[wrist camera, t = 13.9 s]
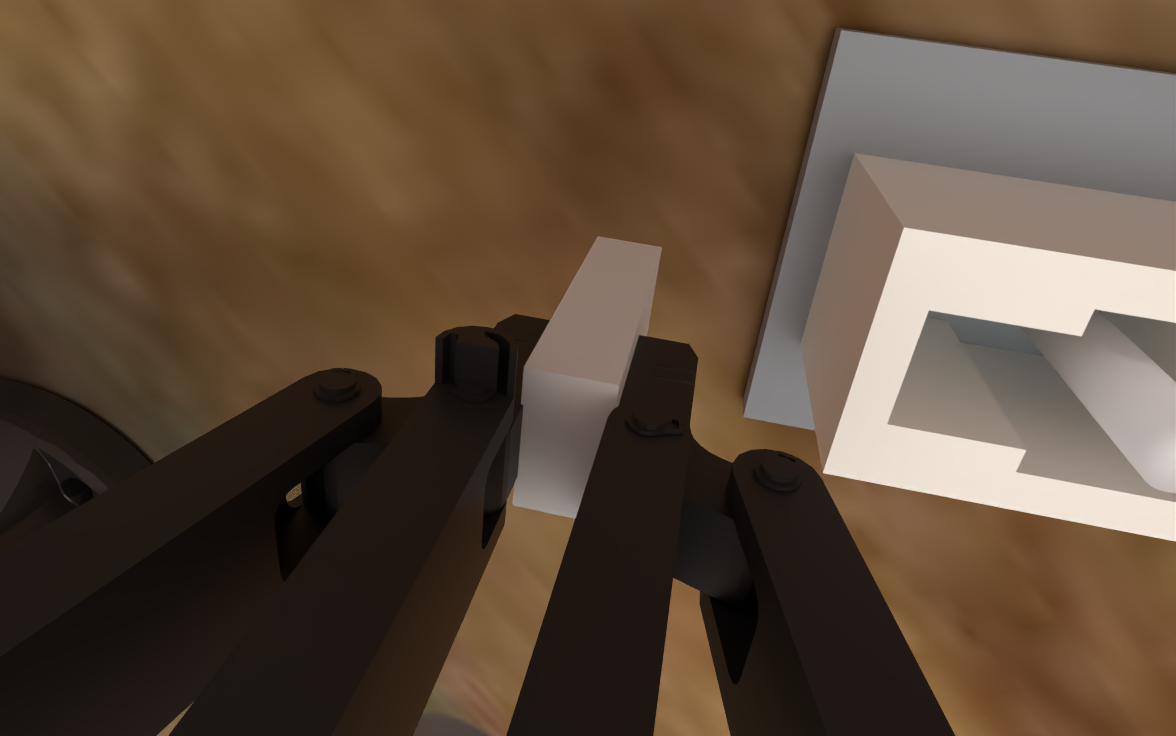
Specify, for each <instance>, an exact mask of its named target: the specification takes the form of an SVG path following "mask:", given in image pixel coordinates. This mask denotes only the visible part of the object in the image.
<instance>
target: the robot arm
mask: <svg viewBox="0 0 1176 736" xmlns="http://www.w3.org/2000/svg"><path fill="white" fill-rule="evenodd" d="M661 250H662V247H658V246H652V245H646V244H640V243H635V242H629V241H623V240H617V239H611V238H605V237H599V236H598V237H597V238H596V240H595V242H594V244H593V246H592V247H591V249H590V251H589V253H588V254H587V256H586V258H585V260H584V261H583V263H582V265H581V267H580V269H579V270H578V272H577V274H576V276H575V277H574V279H573V281H572V283H571V284H570V286H569V288H568V290H567V291H566V293H565V295H564V297H563V299H562V300H561V302H560V304H559V306H558V307H557V309H556V311H555V313H554V314H553V316H552V318H551V320H545V319H540V318H534V317H529V316H523V315H518V314H515V315H512V316H510V317H508V318H506V319H504V320H502V321H500V322H498V323H497V325H496V326H495V328H494V329H493V328H489V327H479V326H466V327H456V328H453V329H450V330H446V331H444V332H442V333H441V334H440V335H438V336H437V337H436V348H435V383H434V385H433V386H432V387H431V389H430V390H429V391H428V392H427V394H426V395H425V396H423V397H412V398H382V386H381V384H380V383H379V381H378V380H377V378H375V377H373V376H372V375H370V374H368V373H366V372H362V371H358V370H353V369H348V368H344V369H342V368H333V369H330V370H324V371H318V372H316V373H313V374H311V375H308V376H306V377H304V378H302V379H300V380H298V381H297V382H295V383H293V384H291V385H290V386H288V387H286V388H284V389H283V390H281V391H279V392H278V393H276V394H274V395H272V396H271V397H269V398H267V399H265V400H264V401H262V402H260V403H258V404H257V405H255V406H253V407H251V408H250V409H248V410H246V411H244V412H243V413H241V414H239V415H237V416H236V417H234V418H232V419H230V420H229V421H227V422H225V423H223V424H222V425H220V426H218V427H216V428H215V429H213V430H211V431H209V432H208V433H206V434H204V435H203V436H201V437H199V438H197V439H196V440H194V441H192V442H190V443H189V444H187V445H185V446H183V447H182V448H180V449H178V450H176V451H175V452H173V453H171V454H169V455H168V456H166V457H164V458H162V459H161V460H159V461H157V462H155V463H154V464H152V465H151V464H150V463H149V462H148V461H147V460H146V459H145V458H144V457H143V456H142V455H141V454H140V453H139V452H138V451H137V450H136V449H135V448H134V447H133V446H132V445H131V444H130V443H129V442H127V441H126V440H125V439H124V438H123V437H121V436H120V435H119V434H118V433H116V432H115V431H114V430H113V429H111V428H110V427H109V426H107V425H106V424H104V423H103V422H101V421H100V420H99V419H97V418H96V417H94V416H93V415H91V414H89V413H88V412H86V411H84V410H83V409H81V408H79V407H77V406H76V405H74V404H72V403H70V402H68V401H66V400H64V399H62V398H60V397H58V396H56V395H53V394H51V393H48V392H46V391H44V390H41V389H38V388H35V387H33V386H29V385H26V384H23V383H19V382H15V381H10V380H5V379H0V736H156V735H157V734H159V733H160V732H161V731H162V730H163V729H164V728H165V727H166V726H167V725H168V724H169V723H171V722H172V721H173V720H174V719H175V718H176V717H177V716H178V715H179V714H180V713H181V712H183V711H184V710H185V709H186V708H187V707H188V706H189V705H190V704H191V703H192V702H194V703H193V704H192V705H191V707H190V708H189V709H188V711H187V712H186V713H185V714H184V716H183V717H182V718H181V720H180V721H179V722H178V724H177V725H176V726H175V728H174V729H173V730H172V732H171V733H170V734H169V736H413V734H414V732H415V729H416V727H417V725H418V722H419V720H420V718H421V715H422V713H423V711H424V709H425V706H426V704H427V702H428V699H429V697H430V695H431V692H432V690H433V688H434V685H435V683H436V681H437V679H438V676H439V674H440V672H441V669H442V667H443V665H444V662H445V660H446V658H447V656H448V653H449V651H450V649H451V646H452V644H453V642H454V639H455V637H456V635H457V633H458V630H459V628H460V626H461V623H462V621H463V619H464V616H465V614H466V612H467V610H468V607H469V605H470V603H471V600H472V598H473V596H474V593H475V591H476V589H477V587H478V584H479V582H480V580H481V577H482V575H483V573H484V570H485V568H486V566H487V564H488V561H489V559H490V557H491V554H492V552H493V550H494V547H495V545H496V543H497V540H498V538H499V536H500V534H501V531H502V529H503V527H504V523H505V516H506V503H507V498H508V496H509V494H510V492H511V489H512V487H513V485H514V494H513V506H518V507H523V508H527V509H532V510H537V511H541V512H546V513H551V514H555V515H560V516H565V517H569V518H574V519H575V522H574V525H573V528H572V531H571V534H570V537H569V541H568V544H567V547H566V550H565V553H564V556H563V559H562V563H561V566H560V569H559V572H558V575H557V578H556V581H555V585H554V588H553V591H552V594H551V597H550V600H549V603H548V607H547V610H546V613H545V616H544V619H543V622H542V625H541V629H540V632H539V635H538V638H537V641H536V644H535V647H534V651H533V654H532V657H531V660H530V663H529V666H528V669H527V673H526V676H525V679H524V682H523V685H522V688H521V691H520V695H519V698H518V701H517V704H516V707H515V710H514V713H513V717H512V720H511V723H510V726H509V729H508V732H507V736H653V733H654V725H655V717H656V709H657V701H658V693H659V685H660V677H661V669H662V661H663V653H664V645H665V637H666V629H667V621H668V614H669V606H670V598H671V590H672V582H673V578H675V579H677V580H679V581H681V582H683V583H685V584H687V585H689V586H691V587H693V588H695V589H697V590H699V591H700V607H701V612H702V616H703V620H704V624H705V629H706V633H707V637H708V641H709V646H710V650H711V654H712V658H713V663H714V667H715V671H716V675H717V680H718V684H719V688H720V692H721V697H722V701H723V705H724V709H725V714H726V718H727V722H728V726H729V731H730V735H731V736H955V734H954V732H953V730H952V728H951V726H950V725H949V723H948V721H947V719H946V717H945V715H944V713H943V711H942V709H941V707H940V705H939V703H938V701H937V700H936V698H935V696H934V694H933V692H932V690H931V688H930V686H929V684H928V682H927V680H926V678H925V677H924V675H923V673H922V671H921V669H920V667H919V665H918V663H917V661H916V659H915V657H914V655H913V653H912V652H911V650H910V648H909V646H908V644H907V642H906V640H905V638H904V636H903V634H902V632H901V630H900V628H899V627H898V625H897V623H896V621H895V619H894V617H893V615H892V613H891V611H890V609H889V607H888V605H887V603H886V602H885V600H884V598H883V596H882V594H881V592H880V590H879V588H878V586H877V584H876V582H875V580H874V578H873V577H872V575H871V573H870V571H869V569H868V567H867V565H866V563H865V561H864V559H863V557H862V555H861V554H860V552H859V550H858V548H857V546H856V544H855V542H854V540H853V538H852V536H851V534H850V532H849V530H848V529H847V527H846V525H845V523H844V521H843V519H842V517H841V515H840V513H839V511H838V509H837V507H836V505H835V504H834V502H833V500H832V498H831V496H830V494H829V492H828V490H827V488H826V486H825V484H824V482H823V480H822V479H821V477H820V476H819V475H818V474H817V472H816V471H815V470H814V469H813V468H812V467H811V466H809V465H808V464H807V463H805V462H804V461H802V460H801V459H799V458H797V457H795V456H792V455H789V454H788V453H784V452H781V451H774V450H768V449H759V450H749V451H747V452H745V453H742V454H740V455H739V456H738V457H737V458H736V459H735V461H734V462H733V463H731V462H729V461H726V460H724V459H722V458H720V457H718V456H716V455H714V454H712V453H710V452H708V451H707V450H706V449H704V448H703V447H701V446H700V445H699V444H698V442H697V441H696V440H695V439H694V438H693V436H692V434H691V429H690V418H691V410H692V402H693V395H694V387H695V379H696V371H697V363H698V357H697V356H696V354H695V353H694V351H693V349H692V348H691V346H690V345H689V344H685V343H680V342H674V341H669V340H664V339H658V338H653V337H647V333H648V327H649V321H650V315H651V309H652V303H653V298H654V292H655V286H656V280H657V274H658V268H659V262H660V256H661ZM299 483H301V491H302V494H300V495H299V496H297V497H296V498H295V499H293V500H291V501H289V502H287V500H286V494H287V493H288V492H289V491H290V490H291V489H292V488H294V487H295V486H296V485H298V484H299Z"/></svg>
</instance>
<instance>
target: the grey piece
mask: <svg viewBox="0 0 1176 736" xmlns="http://www.w3.org/2000/svg"><path fill="white" fill-rule="evenodd" d="M854 153H858V154H865V155H871V156H878V157H884V158H891V159H898V160H904V161H911V162H917V163H924V164H931V165H937V166H944V167H950V168H957V169H963V170H970V171H977V172H983V173H990V174H996V175H1003V176H1010V177H1016V178H1023V179H1029V180H1036V181H1042V182H1049V183H1056V184H1062V185H1069V186H1075V187H1082V188H1089V189H1095V190H1102V191H1108V192H1115V193H1122V194H1128V195H1135V196H1141V197H1148V198H1154V199H1161V200H1168V201H1174V202H1176V73H1172V72H1164V71H1157V70H1149V69H1142V68H1135V67H1127V66H1120V65H1112V64H1105V63H1097V62H1090V61H1083V60H1075V59H1068V58H1060V57H1053V56H1045V55H1038V54H1031V53H1023V52H1016V51H1008V50H1001V49H993V48H986V47H979V46H971V45H964V44H956V43H949V42H941V41H934V40H926V39H919V38H912V37H904V36H897V35H889V34H882V33H874V32H867V31H860V30H852V29H845V28H837V27H836V29H835V33H834V37H833V41H832V45H831V49H830V53H829V57H828V61H827V65H826V69H825V73H824V77H823V81H822V85H821V89H820V93H819V97H818V101H817V105H816V109H815V113H814V117H813V121H812V125H811V129H810V133H809V137H808V141H807V145H806V149H805V153H804V157H803V161H802V165H801V169H800V173H799V177H798V181H797V185H796V189H795V193H794V197H793V201H792V205H791V209H790V213H789V217H788V221H787V225H786V229H785V233H784V237H783V241H782V245H781V249H780V253H779V257H778V261H777V265H776V269H775V273H774V277H773V281H772V285H771V289H770V293H769V297H768V301H767V305H766V309H765V313H764V317H763V321H762V325H761V329H760V333H759V337H758V341H757V345H756V349H755V353H754V357H753V361H752V365H751V369H750V373H749V377H748V381H747V385H746V389H745V393H744V397H743V417H746V418H751V419H756V420H762V421H767V422H772V423H778V424H783V425H788V426H794V427H799V428H804V429H810V430H815V426H814V420H813V414H812V409H811V403H810V397H809V391H808V386H807V380H806V374H805V368H804V363H803V357H802V351H801V346H800V343H801V340H802V336H803V333H804V329H805V326H806V322H807V318H808V315H809V311H810V308H811V304H812V301H813V297H814V294H815V290H816V287H817V283H818V280H819V276H820V273H821V269H822V266H823V262H824V258H825V255H826V251H827V248H828V244H829V241H830V237H831V234H832V230H833V227H834V223H835V220H836V216H837V213H838V209H839V205H840V202H841V198H842V195H843V191H844V188H845V184H846V181H847V177H848V174H849V170H850V167H851V163H852V160H853V156H854ZM927 317H928V318H934V319H940V320H945V321H948V323H949V324H950V326H951V328H952V329H953V331H954V332H955V334H956V336H957V337H958V339H959V341H960V342H963V343H969V344H975V345H980V346H986V347H992V348H998V349H1003V350H1009V351H1015V352H1021V353H1026V354H1032V355H1038V356H1044V357H1045V358H1046V359H1047V360H1048V362H1049V363H1050V364H1051V365H1052V367H1053V368H1054V369H1055V370H1056V372H1057V373H1058V374H1059V375H1060V377H1061V378H1062V379H1063V380H1064V381H1065V383H1066V384H1067V385H1068V386H1069V388H1070V389H1071V390H1072V391H1073V393H1074V394H1075V395H1076V396H1077V398H1078V399H1079V400H1080V401H1081V402H1082V404H1083V405H1084V406H1085V407H1086V409H1087V410H1088V411H1089V412H1090V414H1091V415H1092V416H1093V417H1094V419H1095V420H1096V421H1097V422H1098V424H1099V425H1100V426H1101V427H1102V428H1103V430H1104V431H1105V432H1106V433H1107V435H1108V436H1109V437H1110V438H1111V440H1112V441H1113V442H1114V443H1115V445H1116V446H1117V447H1118V448H1119V450H1120V451H1121V452H1122V453H1123V454H1124V456H1125V457H1126V458H1127V459H1128V461H1129V462H1130V463H1131V464H1132V466H1133V467H1134V468H1135V469H1136V471H1137V472H1138V473H1139V474H1140V475H1141V477H1142V478H1143V479H1144V480H1145V481H1146V482H1147V483H1148V484H1149V485H1150V486H1152V487H1154V488H1155V489H1158V490H1161V491H1164V492H1169V493H1176V382H1175V381H1174V380H1173V379H1172V378H1171V377H1170V376H1169V375H1168V374H1167V373H1165V372H1164V371H1163V370H1162V369H1161V368H1160V367H1159V366H1158V365H1157V364H1156V363H1155V362H1154V361H1152V360H1151V359H1150V358H1149V357H1148V356H1147V355H1146V354H1145V353H1144V352H1143V351H1142V350H1141V349H1140V348H1138V347H1137V346H1136V345H1135V344H1134V343H1133V342H1132V341H1131V340H1130V339H1129V338H1128V337H1127V336H1125V335H1124V334H1123V333H1122V332H1121V331H1120V330H1119V329H1118V328H1117V327H1116V326H1115V325H1114V324H1113V323H1111V322H1110V321H1109V320H1108V319H1107V318H1106V317H1105V316H1104V315H1103V314H1102V310H1096V309H1095V310H1094V312H1093V314H1092V316H1091V318H1090V320H1089V322H1088V324H1087V326H1086V329H1085V331H1084V333H1083V335H1082V336H1076V335H1071V334H1065V333H1059V332H1053V331H1047V330H1041V329H1035V328H1029V327H1024V326H1018V325H1012V324H1006V323H1000V322H994V321H988V320H983V319H977V318H971V317H965V316H959V315H953V314H947V313H941V312H936V311H930V310H929V312H928V314H927Z"/></svg>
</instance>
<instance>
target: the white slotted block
mask: <svg viewBox="0 0 1176 736" xmlns="http://www.w3.org/2000/svg"><path fill="white" fill-rule="evenodd" d="M1095 309H1096V310H1102V314H1103V315H1104V316H1105V317H1106V318H1107V319H1108V320H1109V321H1110V322H1111V323H1113V324H1114V325H1115V326H1116V327H1117V328H1118V329H1119V330H1120V331H1121V332H1122V333H1123V334H1124V335H1125V336H1127V337H1128V338H1129V339H1130V340H1131V341H1132V342H1133V343H1134V344H1135V345H1136V346H1137V347H1138V348H1140V349H1141V350H1142V351H1143V352H1144V353H1145V354H1146V355H1147V356H1148V357H1149V358H1150V359H1151V360H1152V361H1154V362H1155V363H1156V364H1157V365H1158V366H1159V367H1160V368H1161V369H1162V370H1163V371H1164V372H1165V373H1167V374H1168V375H1169V376H1170V377H1171V378H1172V379H1173V380H1174V381H1175V382H1176V202H1174V201H1168V200H1161V199H1154V198H1148V197H1141V196H1135V195H1128V194H1122V193H1115V192H1108V191H1102V190H1095V189H1089V188H1082V187H1075V186H1069V185H1062V184H1056V183H1049V182H1042V181H1036V180H1029V179H1023V178H1016V177H1010V176H1003V175H996V174H990V173H983V172H977V171H970V170H963V169H957V168H950V167H944V166H937V165H931V164H924V163H917V162H911V161H904V160H898V159H891V158H884V157H878V156H871V155H865V154H858V153H854V156H853V160H852V163H851V167H850V170H849V174H848V177H847V181H846V184H845V188H844V191H843V195H842V198H841V202H840V205H839V209H838V213H837V216H836V220H835V223H834V227H833V230H832V234H831V237H830V241H829V244H828V248H827V251H826V255H825V258H824V262H823V266H822V269H821V273H820V276H819V280H818V283H817V287H816V290H815V294H814V297H813V301H812V304H811V308H810V311H809V315H808V318H807V322H806V326H805V329H804V333H803V336H802V340H801V343H800V346H801V351H802V357H803V363H804V368H805V374H806V380H807V386H808V391H809V397H810V403H811V409H812V414H813V420H814V426H815V431H816V437H817V443H818V449H819V454H820V460H821V466H822V471H823V473H826V474H831V475H836V476H841V477H846V478H851V479H857V480H862V481H867V482H872V483H877V484H882V485H887V486H893V487H898V488H903V489H908V490H913V491H918V492H924V493H929V494H934V495H939V496H944V497H949V498H955V499H960V500H965V501H970V502H975V503H980V504H985V505H991V506H996V507H1001V508H1006V509H1011V510H1016V511H1022V512H1027V513H1032V514H1037V515H1042V516H1047V517H1053V518H1058V519H1063V520H1068V521H1073V522H1078V523H1083V524H1089V525H1094V526H1099V527H1104V528H1109V529H1114V530H1120V531H1125V532H1130V533H1135V534H1140V535H1145V536H1150V537H1156V538H1161V539H1166V540H1171V541H1176V493H1169V492H1164V491H1161V490H1158V489H1155V488H1154V487H1152V486H1150V485H1149V484H1148V483H1147V482H1146V481H1145V480H1144V479H1143V478H1142V477H1141V475H1140V474H1139V473H1138V472H1137V471H1136V469H1135V468H1134V467H1133V466H1132V464H1131V463H1130V462H1129V461H1128V459H1127V458H1126V457H1125V456H1124V454H1123V453H1122V452H1121V451H1120V450H1119V448H1118V447H1117V446H1116V445H1115V443H1114V442H1113V441H1112V440H1111V438H1110V437H1109V436H1108V435H1107V433H1106V432H1105V431H1104V430H1103V428H1102V427H1101V426H1100V425H1099V424H1098V422H1097V421H1096V420H1095V419H1094V417H1093V416H1092V415H1091V414H1090V412H1089V411H1088V410H1087V409H1086V407H1085V406H1084V405H1083V404H1082V402H1081V401H1080V400H1079V399H1078V398H1077V396H1076V395H1075V394H1074V393H1073V391H1072V390H1071V389H1070V388H1069V386H1068V385H1067V384H1066V383H1065V381H1064V380H1063V379H1062V378H1061V377H1060V375H1059V374H1058V373H1057V372H1056V370H1055V369H1054V368H1053V367H1052V365H1051V364H1050V363H1049V362H1048V360H1047V359H1046V358H1045V357H1044V356H1038V355H1032V354H1026V353H1021V352H1015V351H1009V350H1003V349H998V348H992V347H986V346H980V345H975V344H969V343H963V342H960V341H959V339H958V337H957V336H956V334H955V332H954V331H953V329H952V328H951V326H950V324H949V323H948V321H945V320H940V319H934V318H928V317H927V314H928V312H929V310H930V311H936V312H941V313H947V314H953V315H959V316H965V317H971V318H977V319H983V320H988V321H994V322H1000V323H1006V324H1012V325H1018V326H1024V327H1029V328H1035V329H1041V330H1047V331H1053V332H1059V333H1065V334H1071V335H1076V336H1082V335H1083V333H1084V331H1085V329H1086V326H1087V324H1088V322H1089V320H1090V318H1091V316H1092V314H1093V312H1094V310H1095Z"/></svg>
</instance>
